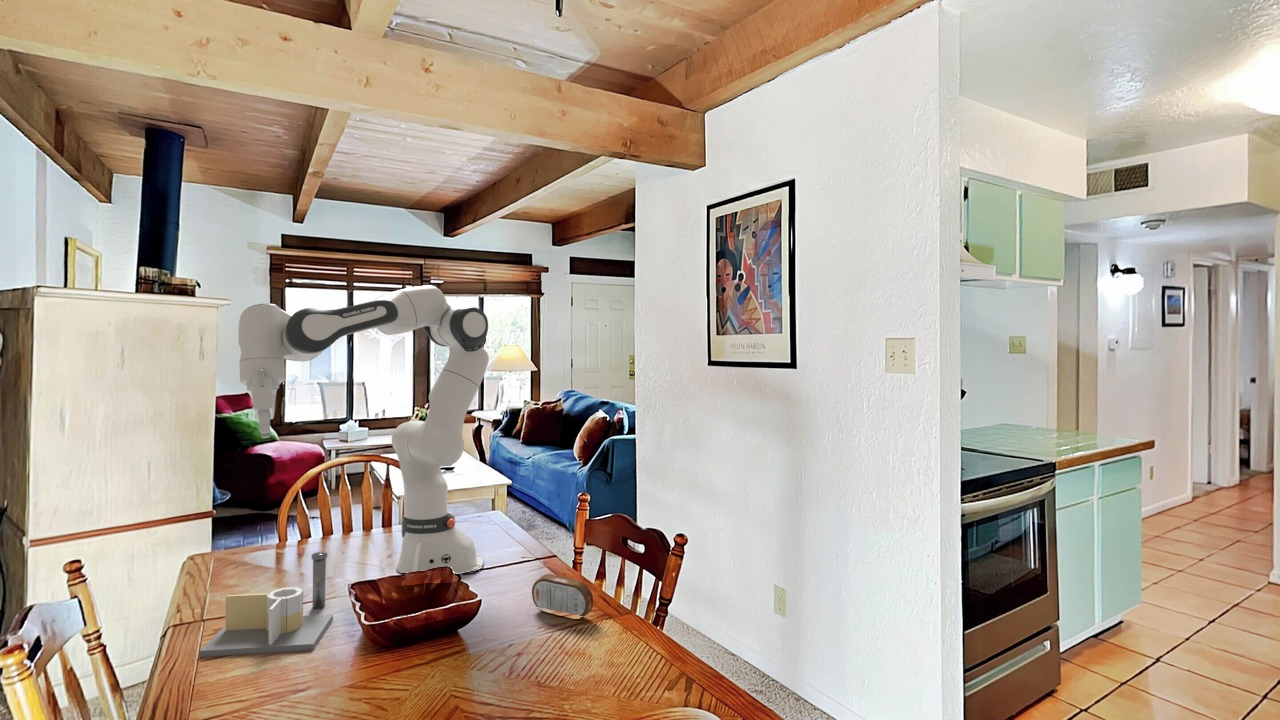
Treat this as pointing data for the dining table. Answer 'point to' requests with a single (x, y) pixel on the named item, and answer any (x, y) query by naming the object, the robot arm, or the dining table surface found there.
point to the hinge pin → (319, 579)
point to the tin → (562, 595)
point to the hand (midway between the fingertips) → (265, 435)
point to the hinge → (267, 625)
